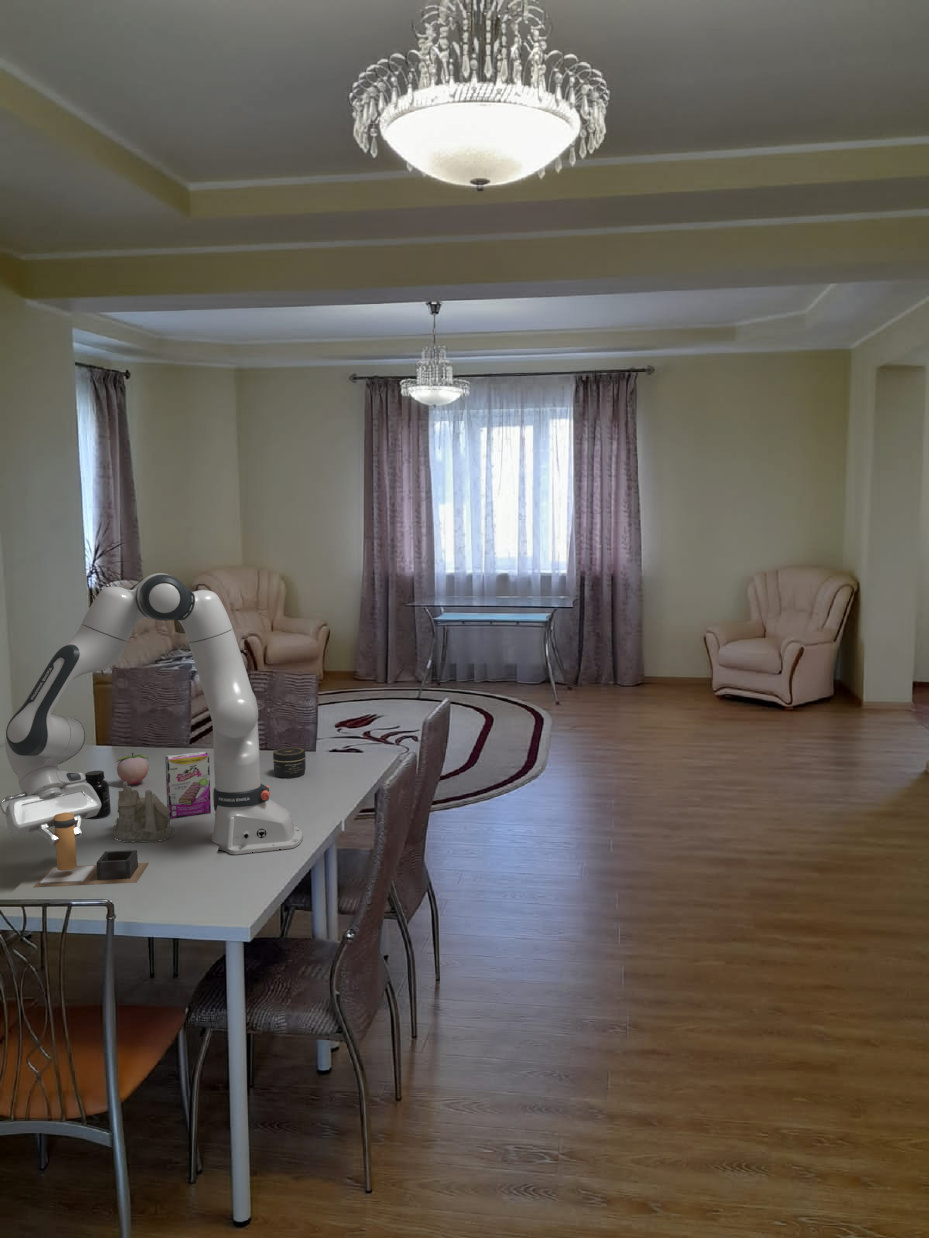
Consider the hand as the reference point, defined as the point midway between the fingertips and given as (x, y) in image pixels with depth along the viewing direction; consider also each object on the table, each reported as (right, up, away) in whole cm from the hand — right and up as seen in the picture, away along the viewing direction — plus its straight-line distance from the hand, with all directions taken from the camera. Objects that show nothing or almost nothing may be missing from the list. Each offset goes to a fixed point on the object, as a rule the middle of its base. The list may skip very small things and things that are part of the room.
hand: (66, 839), depth 217 cm
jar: (+34, 0, +87) cm, 94 cm away
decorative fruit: (-11, -1, +78) cm, 79 cm away
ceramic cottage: (+6, -6, +35) cm, 36 cm away
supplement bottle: (-12, -5, +49) cm, 51 cm away
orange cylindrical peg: (0, -6, +1) cm, 7 cm away
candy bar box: (+13, -4, +50) cm, 52 cm away
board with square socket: (+5, -10, +2) cm, 11 cm away
